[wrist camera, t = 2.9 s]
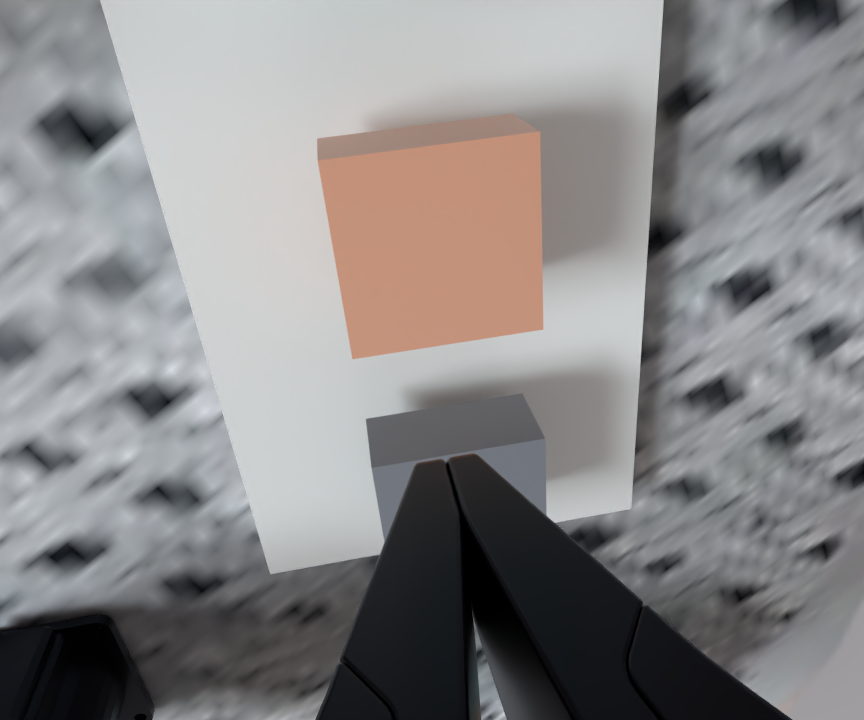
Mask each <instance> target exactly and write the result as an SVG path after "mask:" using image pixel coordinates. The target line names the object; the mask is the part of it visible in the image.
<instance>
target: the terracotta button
mask: <svg viewBox="0 0 864 720" xmlns="http://www.w3.org/2000/svg"><path fill="white" fill-rule="evenodd" d="M317 157H318V166H319V172H320V177H321V183H322V189H323V194H324V200H325V206H326V212H327V217H328V223H329V229H330V234H331V240H332V246H333V251H334V257H335V263H336V269H337V274H338V280H339V286H340V291H341V297H342V303H343V308H344V314H345V320H346V326H347V331H348V337H349V343H350V348H351V354H352V359H358V358H364V357H371V356H377V355H383V354H390V353H396V352H403V351H409V350H416V349H422V348H428V347H435V346H441V345H448V344H454V343H460V342H467V341H473V340H480V339H486V338H492V337H499V336H505V335H512V334H518V333H524V332H531V331H537V330H544V329H543V268H542V207H541V146H540V131H539V130H537V129H536V128H534V127H533V126H531V125H530V124H528V123H526V122H525V121H523V120H522V119H520V118H519V117H517V116H515V115H514V114H504V115H496V116H489V117H481V118H473V119H465V120H457V121H450V122H442V123H434V124H426V125H418V126H411V127H403V128H395V129H387V130H379V131H371V132H364V133H356V134H348V135H340V136H332V137H325V138H317Z"/></svg>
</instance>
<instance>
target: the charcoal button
mask: <svg viewBox="0 0 864 720" xmlns="http://www.w3.org/2000/svg"><path fill="white" fill-rule="evenodd" d="M366 426H367V434H368V443H369V451H370V460H371V468H372V474H373V480H374V485H375V491H376V497H377V502H378V508H379V514H380V519H381V525H382V531H383V537H384V542H385V539H386V537H387V534H388V532H389V529H390V526H391V524H392V521H393V519H394V516H395V513H396V511H397V508H398V505H399V503H400V500H401V498H402V495H403V492H404V490H405V487H406V484H407V482H408V479H409V477H410V474H411V471H412V469H413V467H414V465H415V464H416V463H418V462H424V461H430V460H435V459H443V460H444V461H445V462H446V461H447V459H448V458H449V457H453V456H459V455H464V454H470V453H475V454H477V455H479V456H480V457H481V458H482V459H483V460H485V461H486V462H487V463H488V464H489V465H490V466H491V467H492V468H494V469H495V470H496V471H497V472H498V473H499V474H500V475H501V476H503V477H504V478H505V479H506V480H507V481H508V482H509V483H510V484H512V485H513V486H514V487H515V488H516V489H517V490H518V491H519V492H520V493H522V494H523V495H524V496H525V497H526V498H527V499H528V500H529V501H531V502H532V503H533V504H534V505H535V506H536V507H537V508H538V509H540V510H541V511H542V512H543V513H544V514H545V515H546V516H547V512H546V451H545V437H544V435H543V433H542V431H541V429H540V427H539V425H538V423H537V421H536V419H535V417H534V415H533V413H532V412H531V410H530V408H529V406H528V404H527V402H526V400H525V398H524V396H523V394H522V393H521V394H515V395H508V396H502V397H496V398H490V399H484V400H478V401H472V402H466V403H460V404H453V405H447V406H441V407H435V408H429V409H423V410H417V411H411V412H405V413H398V414H392V415H386V416H380V417H374V418H368V419H366Z"/></svg>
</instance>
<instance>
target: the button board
mask: <svg viewBox="0 0 864 720" xmlns="http://www.w3.org/2000/svg"><path fill="white" fill-rule="evenodd" d="M100 1H101V5H102V8H103V11H104V15H105V18H106V21H107V25H108V28H109V32H110V35H111V38H112V42H113V45H114V48H115V52H116V55H117V59H118V62H119V65H120V69H121V72H122V75H123V79H124V82H125V86H126V89H127V92H128V96H129V99H130V102H131V106H132V109H133V113H134V116H135V119H136V123H137V126H138V129H139V133H140V136H141V140H142V143H143V146H144V150H145V153H146V156H147V160H148V163H149V167H150V170H151V173H152V177H153V180H154V183H155V187H156V190H157V194H158V197H159V200H160V204H161V207H162V210H163V214H164V217H165V221H166V224H167V227H168V231H169V234H170V237H171V241H172V244H173V248H174V251H175V254H176V258H177V261H178V264H179V268H180V271H181V275H182V278H183V281H184V285H185V288H186V291H187V295H188V298H189V302H190V305H191V308H192V312H193V315H194V318H195V322H196V325H197V329H198V332H199V335H200V339H201V342H202V345H203V349H204V352H205V356H206V359H207V362H208V366H209V369H210V372H211V376H212V379H213V383H214V386H215V389H216V393H217V396H218V399H219V403H220V406H221V410H222V413H223V416H224V420H225V423H226V426H227V430H228V433H229V437H230V440H231V443H232V447H233V450H234V453H235V457H236V460H237V464H238V467H239V470H240V474H241V477H242V480H243V484H244V487H245V491H246V494H247V497H248V501H249V504H250V507H251V511H252V514H253V518H254V521H255V524H256V528H257V531H258V534H259V538H260V541H261V545H262V548H263V551H264V555H265V558H266V561H267V565H268V568H269V571H270V574H274V573H280V572H286V571H291V570H297V569H302V568H308V567H313V566H319V565H324V564H330V563H335V562H341V561H346V560H352V559H357V558H363V557H368V556H374V555H380V553H381V550H382V547H383V545H384V537H383V531H382V525H381V519H380V514H379V508H378V502H377V497H376V491H375V485H374V480H373V474H372V468H371V460H370V451H369V443H368V434H367V426H366V419H368V418H374V417H380V416H386V415H392V414H398V413H405V412H411V411H417V410H423V409H429V408H435V407H441V406H447V405H453V404H460V403H466V402H472V401H478V400H484V399H490V398H496V397H502V396H508V395H515V394H521V393H522V394H523V396H524V398H525V400H526V402H527V404H528V406H529V408H530V410H531V412H532V413H533V415H534V417H535V419H536V421H537V423H538V425H539V427H540V429H541V431H542V433H543V435H544V437H545V451H546V512H547V517H549V518H550V519H551V520H552V521H553V522H554V523H557V522H562V521H568V520H573V519H579V518H584V517H590V516H595V515H601V514H606V513H612V512H617V511H623V510H628V509H631V504H632V488H633V472H634V457H635V441H636V425H637V410H638V394H639V378H640V363H641V347H642V331H643V316H644V300H645V284H646V269H647V253H648V237H649V222H650V206H651V190H652V175H653V159H654V143H655V128H656V112H657V96H658V81H659V65H660V49H661V34H662V18H663V3H664V0H100ZM504 114H514V115H515V116H517V117H519V118H520V119H522V120H523V121H525V122H526V123H528V124H530V125H531V126H533V127H534V128H536V129H537V130H539V131H540V146H541V207H542V268H543V329H544V330H537V331H531V332H524V333H518V334H512V335H505V336H499V337H492V338H486V339H480V340H473V341H467V342H460V343H454V344H448V345H441V346H435V347H428V348H422V349H416V350H409V351H403V352H396V353H390V354H383V355H377V356H371V357H364V358H358V359H352V354H351V348H350V343H349V337H348V331H347V326H346V320H345V314H344V308H343V303H342V297H341V291H340V286H339V280H338V274H337V269H336V263H335V257H334V251H333V246H332V240H331V234H330V229H329V223H328V217H327V212H326V206H325V200H324V194H323V189H322V183H321V177H320V172H319V166H318V157H317V138H325V137H332V136H340V135H348V134H356V133H364V132H371V131H379V130H387V129H395V128H403V127H411V126H418V125H426V124H434V123H442V122H450V121H457V120H465V119H473V118H481V117H489V116H496V115H504Z"/></svg>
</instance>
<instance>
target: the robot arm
mask: <svg viewBox="0 0 864 720" xmlns="http://www.w3.org/2000/svg"><path fill="white" fill-rule="evenodd" d="M472 612H473V615H472ZM473 616H474V621H475V624H476V627H477V631H478V634H479V637H480V641H481V644H482V646H483V649H484V652H485V655H486V658H487V661H488V664H489V667H490V670H491V673H492V676H493V679H494V682H495V685H496V688H497V691H498V694H499V697H500V700H501V703H502V706H503V709H504V712H505V715H506V718H507V720H792V719H791V718H789V717H788V716H787V715H785V714H784V713H782V712H781V711H780V710H778V709H777V708H776V707H774V706H773V705H771V704H770V703H769V702H767V701H766V700H764V699H763V698H762V697H760V696H759V695H758V694H756V693H755V692H753V691H752V690H751V689H749V688H748V687H747V686H745V685H744V684H743V683H741V682H740V681H739V680H737V679H736V678H735V677H733V676H732V675H731V674H729V673H728V672H727V671H726V670H724V669H723V668H722V667H720V666H719V665H718V664H716V663H715V662H714V661H712V660H711V659H710V658H708V657H707V656H706V655H705V654H704V653H702V652H701V651H700V650H699V649H698V648H696V647H695V646H694V645H693V644H692V643H690V642H689V641H688V640H687V639H686V638H685V637H683V636H682V635H681V634H680V633H679V632H677V631H676V630H675V629H674V628H673V627H671V626H670V625H669V624H668V623H667V622H666V621H665V620H663V619H662V618H661V617H660V616H659V615H658V614H657V613H656V612H655V611H654V610H652V609H651V608H650V607H649V606H647V605H644V606H643V601H642V600H641V599H640V598H639V597H637V596H636V595H635V594H634V593H633V592H632V591H631V590H630V589H628V588H627V587H626V586H625V585H624V584H623V583H622V582H621V581H619V580H618V579H617V578H616V577H615V576H614V575H613V574H612V573H610V572H609V571H608V570H607V569H606V568H605V567H604V566H603V565H601V564H600V563H599V562H598V561H597V560H596V559H595V558H594V557H592V556H591V555H590V554H589V553H588V552H587V551H586V550H585V549H583V548H582V547H581V546H580V545H579V544H578V543H577V542H576V541H574V540H573V539H572V538H571V537H570V536H569V535H568V534H567V533H565V532H564V531H563V530H562V529H561V528H560V527H559V526H558V525H556V524H555V523H554V522H553V521H552V520H551V519H550V518H549V517H547V516H546V515H545V514H544V513H543V512H542V511H541V510H540V509H538V508H537V507H536V506H535V505H534V504H533V503H532V502H531V501H529V500H528V499H527V498H526V497H525V496H524V495H523V494H522V493H520V492H519V491H518V490H517V489H516V488H515V487H514V486H513V485H512V484H510V483H509V482H508V481H507V480H506V479H505V478H504V477H503V476H501V475H500V474H499V473H498V472H497V471H496V470H495V469H494V468H492V467H491V466H490V465H489V464H488V463H487V462H486V461H485V460H483V459H482V458H481V457H480V456H479V455H477V454H475V453H470V454H464V455H459V456H453V457H449V458H448V459H447V461H446V462H445V461H444V460H443V459H435V460H430V461H424V462H418V463H416V464H415V465H414V467H413V469H412V471H411V474H410V477H409V479H408V482H407V484H406V487H405V490H404V492H403V495H402V498H401V500H400V503H399V505H398V508H397V511H396V513H395V516H394V519H393V521H392V524H391V526H390V529H389V532H388V534H387V537H386V539H385V542H384V545H383V547H382V550H381V553H380V555H379V558H378V560H377V563H376V566H375V568H374V571H373V574H372V576H371V579H370V581H369V584H368V587H367V589H366V592H365V595H364V597H363V600H362V602H361V605H360V608H359V610H358V613H357V615H356V618H355V621H354V623H353V626H352V629H351V631H350V634H349V636H348V639H347V642H346V644H345V647H344V650H343V652H342V655H341V657H340V662H341V663H339V664H338V665H337V667H336V670H335V672H334V675H333V677H332V680H331V683H330V685H329V688H328V691H327V693H326V696H325V698H324V700H323V703H322V705H321V707H320V710H319V712H318V715H317V717H316V719H315V720H481V711H480V698H479V684H478V671H477V657H476V644H475V633H474V624H473ZM98 627H100V628H98ZM154 710H155V709H154V705H153V703H152V701H151V699H150V697H149V695H148V693H147V691H146V688H145V686H144V684H143V682H142V680H141V678H140V676H139V674H138V672H137V670H136V667H135V665H134V663H133V661H132V659H131V657H130V655H129V653H128V651H127V649H126V647H125V644H124V642H123V640H122V638H121V636H120V634H119V632H118V630H117V628H116V626H115V624H114V621H113V620H112V619H111V618H110V617H108V616H106V615H92V616H87V617H81V618H76V619H70V620H65V621H59V622H54V623H48V624H43V625H37V626H32V627H26V628H21V629H15V630H10V631H4V632H0V720H152V718H153V714H154Z"/></svg>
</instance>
